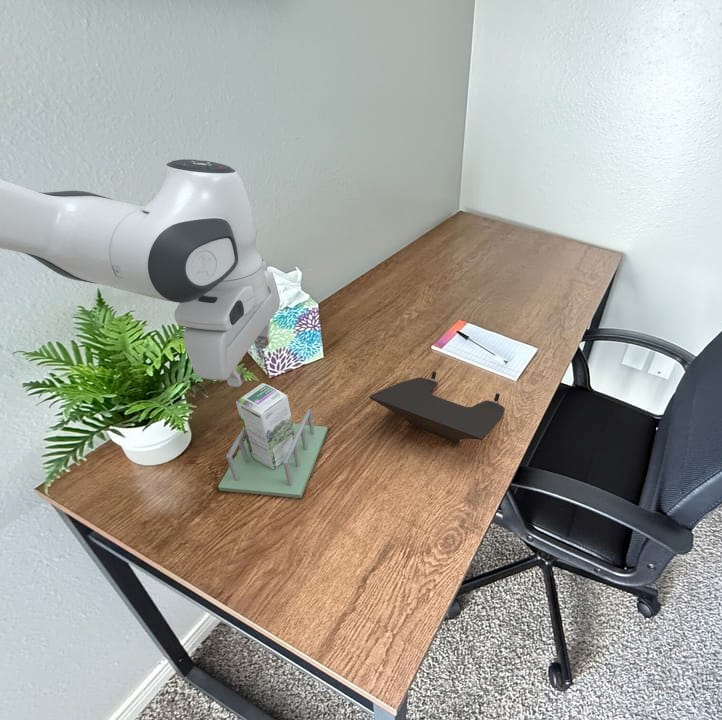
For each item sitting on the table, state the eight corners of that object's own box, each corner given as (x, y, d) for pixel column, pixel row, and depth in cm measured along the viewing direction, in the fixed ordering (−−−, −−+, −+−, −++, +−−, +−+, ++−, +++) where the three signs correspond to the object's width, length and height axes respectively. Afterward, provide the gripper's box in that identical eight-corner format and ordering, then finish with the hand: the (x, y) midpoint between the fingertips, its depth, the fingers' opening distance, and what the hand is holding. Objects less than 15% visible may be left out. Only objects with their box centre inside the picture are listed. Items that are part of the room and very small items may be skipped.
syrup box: (275, 437, 88) (261, 380, 79) (298, 450, 87) (287, 393, 78) (250, 457, 84) (233, 399, 75) (275, 471, 82) (260, 413, 74)
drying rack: (301, 498, 80) (295, 471, 75) (218, 490, 79) (207, 462, 75) (328, 430, 93) (324, 403, 88) (257, 423, 92) (249, 395, 87)
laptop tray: (503, 436, 104) (514, 398, 102) (473, 474, 82) (486, 427, 80) (412, 402, 109) (421, 366, 108) (361, 430, 88) (371, 385, 86)
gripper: (241, 249, 71) (257, 324, 80) (165, 322, 55) (195, 406, 64) (282, 254, 72) (294, 328, 80) (219, 328, 55) (242, 411, 64)
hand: (250, 363), depth 72 cm, fingers open, 8 cm apart
